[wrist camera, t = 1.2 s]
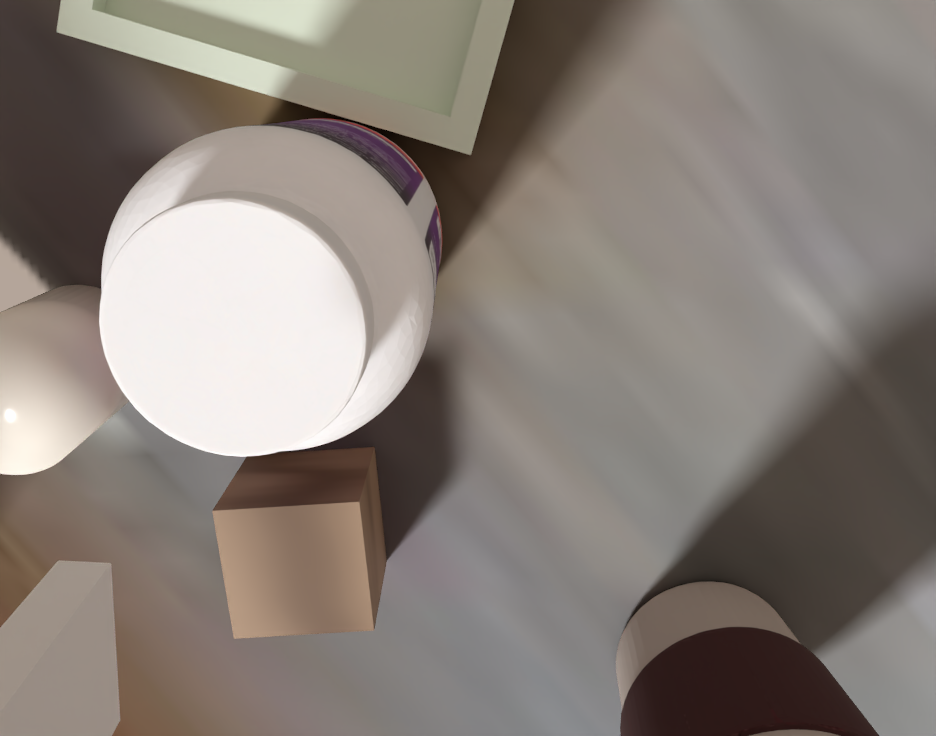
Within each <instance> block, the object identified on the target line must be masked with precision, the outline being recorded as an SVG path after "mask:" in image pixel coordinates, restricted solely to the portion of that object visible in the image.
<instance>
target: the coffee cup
mask: <svg viewBox="0 0 936 736" xmlns="http://www.w3.org/2000/svg"><path fill="white" fill-rule="evenodd" d="M616 674H617V680H618V686H619V693H620V699H621V705H622V713H621V726H620V731H621V736H879V735H878V734H877V732H876V731H875V730H874V728H873V727H872V726H871V725H870V723H869V722H868V721H867V719H866V718H865V717H864V716H863V714H862V713H861V712H860V710H859V709H858V708H857V707H856V705H855V704H854V703H853V701H852V700H851V699H850V698H849V696H848V695H847V694H846V692H845V691H844V690H843V689H842V687H841V686H840V685H839V683H838V682H837V681H836V680H835V678H834V677H833V676H832V674H831V673H830V672H829V671H828V669H827V668H826V667H825V666H824V664H823V663H822V662H821V661H820V660H819V659H818V658H817V657H816V656H815V655H814V654H813V653H812V652H810V651H809V650H808V649H807V648H805V647H804V646H803V645H801V644H800V642H799V641H798V640H797V638H796V637H795V636H794V634H793V633H792V632H791V630H790V629H789V628H788V626H787V625H786V624H785V622H784V621H783V620H782V619H781V617H780V616H779V615H778V613H777V612H776V611H775V610H774V609H773V608H772V607H771V606H770V605H769V604H768V603H767V602H766V601H764V600H763V599H762V598H760V597H759V596H758V595H756V594H754V593H752V592H750V591H748V590H746V589H744V588H742V587H739V586H736V585H733V584H728V583H723V582H694V583H688V584H684V585H680V586H677V587H674V588H671V589H669V590H666V591H664V592H662V593H660V594H659V595H657V596H655V597H654V598H652V599H651V600H650V601H648V602H647V603H646V604H645V605H644V606H642V607H641V608H640V609H639V610H638V611H637V612H636V614H635V615H634V616H633V617H632V618H631V619H630V621H629V622H628V624H627V626H626V628H625V630H624V631H623V633H622V635H621V638H620V641H619V645H618V649H617V655H616Z"/></svg>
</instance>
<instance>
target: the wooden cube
mask: <svg viewBox="0 0 936 736" xmlns="http://www.w3.org/2000/svg"><path fill="white" fill-rule="evenodd" d="M212 512H213V518H214V523H215V529H216V535H217V541H218V547H219V553H220V559H221V565H222V571H223V577H224V583H225V589H226V594H227V600H228V606H229V612H230V618H231V624H232V630H233V636H234V639H236V638H253V637H270V636H287V635H304V634H321V633H338V632H355V631H372V630H374V628H375V623H376V617H377V611H378V606H379V600H380V595H381V589H382V584H383V578H384V573H385V567H386V562H387V559H386V549H385V540H384V531H383V521H382V512H381V502H380V493H379V484H378V474H377V465H376V456H375V447H365V448H349V449H333V450H318V451H302V452H286V453H272V454H266V455H260V456H247V457H246V459H245V460H244V462H243V464H242V465H241V467H240V468H239V470H238V471H237V473H236V475H235V476H234V478H233V479H232V481H231V482H230V484H229V486H228V487H227V489H226V490H225V492H224V493H223V495H222V497H221V498H220V500H219V501H218V503H217V504H216V506H215V508H214V509H213V511H212Z"/></svg>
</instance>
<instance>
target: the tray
mask: <svg viewBox="0 0 936 736" xmlns="http://www.w3.org/2000/svg"><path fill="white" fill-rule="evenodd" d="M513 4H514V0H61V3H60V10H59V17H58V24H57V31H56V32H58V33H61V34H64V35H68V36H71V37H74V38H78V39H81V40H85V41H88V42H91V43H95V44H98V45H101V46H105V47H108V48H112V49H115V50H118V51H122V52H125V53H128V54H132V55H135V56H138V57H142V58H145V59H149V60H152V61H155V62H159V63H162V64H165V65H169V66H172V67H175V68H179V69H182V70H186V71H189V72H192V73H196V74H199V75H202V76H206V77H209V78H212V79H216V80H219V81H223V82H226V83H229V84H233V85H236V86H239V87H243V88H246V89H250V90H253V91H256V92H260V93H263V94H266V95H270V96H273V97H276V98H280V99H283V100H287V101H290V102H293V103H297V104H300V105H303V106H307V107H310V108H313V109H317V110H320V111H324V112H327V113H330V114H334V115H337V116H340V117H344V118H347V119H350V120H354V121H357V122H361V123H364V124H367V125H371V126H374V127H377V128H381V129H384V130H388V131H391V132H394V133H398V134H401V135H404V136H408V137H411V138H414V139H418V140H421V141H425V142H428V143H431V144H435V145H438V146H441V147H445V148H448V149H451V150H455V151H458V152H462V153H465V154H468V155H471V153H472V149H473V146H474V142H475V139H476V135H477V132H478V128H479V125H480V121H481V117H482V114H483V110H484V107H485V103H486V100H487V96H488V93H489V89H490V85H491V82H492V78H493V75H494V71H495V68H496V64H497V61H498V57H499V53H500V50H501V46H502V43H503V39H504V36H505V32H506V29H507V25H508V22H509V18H510V14H511V11H512V7H513Z"/></svg>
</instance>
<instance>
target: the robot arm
mask: <svg viewBox="0 0 936 736" xmlns="http://www.w3.org/2000/svg"><path fill="white" fill-rule="evenodd" d="M119 721H120V708H119V691H118V674H117V656H116V639H115V622H114V604H113V587H112V570H111V563H98V562H77V561H57V563H56V564H55V565H54V566H53V567H52V568H51V570H50V571H49V572H48V573H47V574H46V575H45V577H44V578H43V579H42V580H41V581H40V582H39V583H38V585H37V586H36V587H35V588H34V589H33V590H32V592H31V593H30V594H29V595H28V596H27V597H26V599H25V600H24V601H23V602H22V603H21V604H20V606H19V607H18V608H17V609H16V610H15V611H14V612H13V614H12V615H11V616H10V617H9V618H8V619H7V621H6V622H5V623H4V624H3V625H2V626H1V628H0V736H112V734H113V732H114V731H115V729H116V727H117V725H118V723H119Z"/></svg>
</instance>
